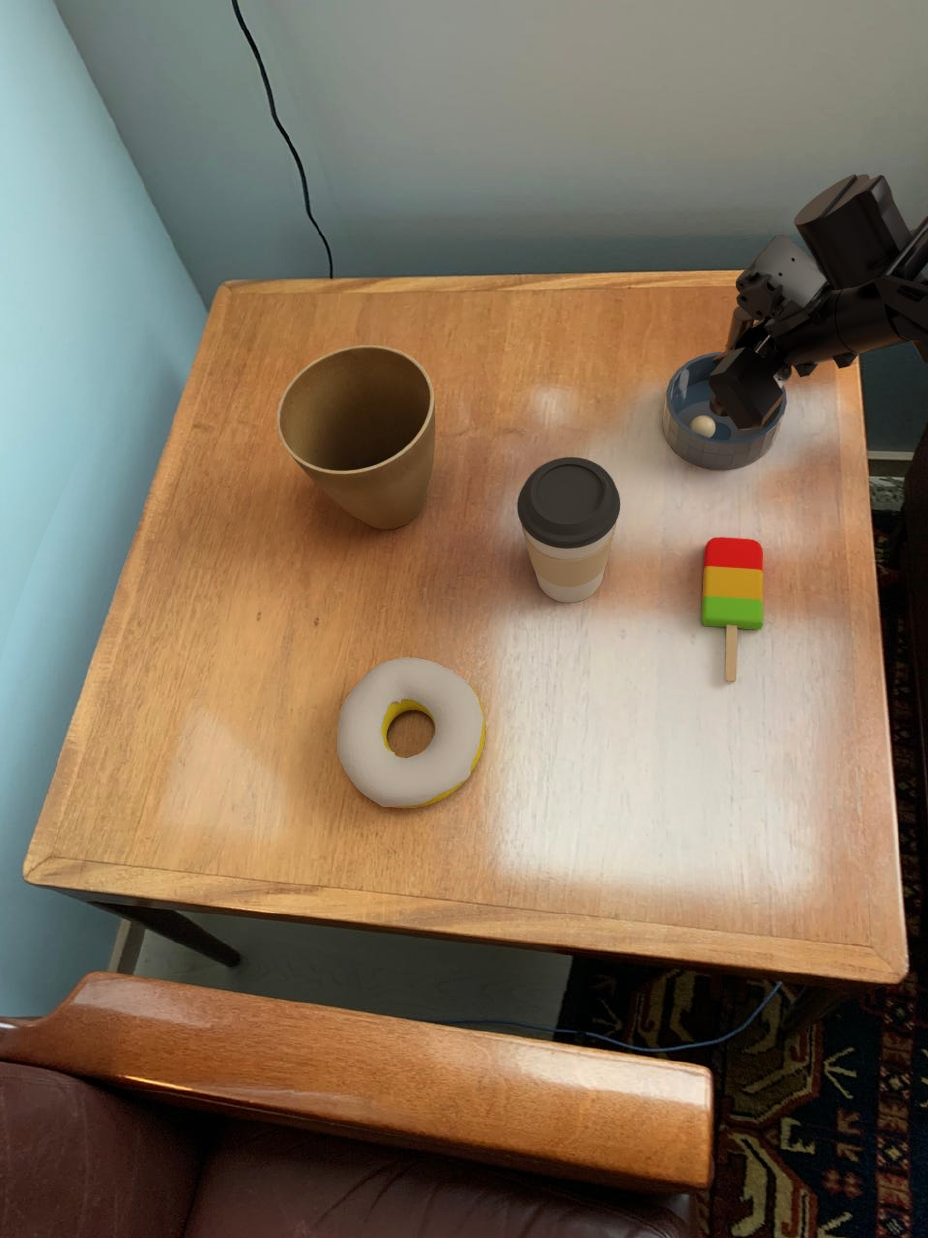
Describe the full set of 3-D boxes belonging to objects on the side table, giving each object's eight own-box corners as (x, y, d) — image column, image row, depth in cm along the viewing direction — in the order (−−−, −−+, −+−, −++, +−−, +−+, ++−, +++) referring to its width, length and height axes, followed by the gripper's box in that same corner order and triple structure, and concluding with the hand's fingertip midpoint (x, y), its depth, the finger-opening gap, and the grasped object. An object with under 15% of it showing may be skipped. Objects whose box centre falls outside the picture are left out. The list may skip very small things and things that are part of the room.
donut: (444, 840, 77) (436, 828, 73) (315, 777, 81) (300, 762, 77) (511, 705, 82) (507, 686, 78) (386, 652, 86) (376, 630, 82)
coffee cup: (516, 604, 87) (505, 525, 73) (535, 528, 90) (527, 439, 77) (606, 619, 85) (611, 540, 71) (621, 540, 88) (629, 451, 75)
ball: (700, 421, 93) (703, 405, 90) (718, 435, 92) (722, 419, 89) (683, 435, 92) (685, 420, 90) (701, 449, 91) (704, 434, 89)
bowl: (715, 362, 97) (721, 333, 93) (801, 423, 92) (811, 394, 88) (639, 424, 94) (642, 397, 90) (723, 489, 90) (730, 464, 86)
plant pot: (411, 424, 98) (382, 319, 84) (482, 512, 92) (464, 416, 78) (298, 490, 96) (248, 394, 82) (363, 586, 90) (322, 500, 76)
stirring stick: (743, 401, 90) (767, 307, 79) (729, 421, 90) (751, 329, 78) (718, 390, 91) (737, 295, 80) (703, 409, 91) (721, 317, 79)
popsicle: (760, 547, 86) (764, 537, 85) (760, 687, 80) (763, 680, 78) (703, 543, 87) (705, 534, 86) (698, 682, 81) (701, 675, 79)
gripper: (871, 165, 71) (731, 228, 85) (747, 309, 66) (620, 351, 80) (929, 278, 75) (787, 320, 89) (817, 421, 70) (685, 443, 84)
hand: (721, 355), depth 85 cm, fingers closed on stirring stick, 2 cm apart
